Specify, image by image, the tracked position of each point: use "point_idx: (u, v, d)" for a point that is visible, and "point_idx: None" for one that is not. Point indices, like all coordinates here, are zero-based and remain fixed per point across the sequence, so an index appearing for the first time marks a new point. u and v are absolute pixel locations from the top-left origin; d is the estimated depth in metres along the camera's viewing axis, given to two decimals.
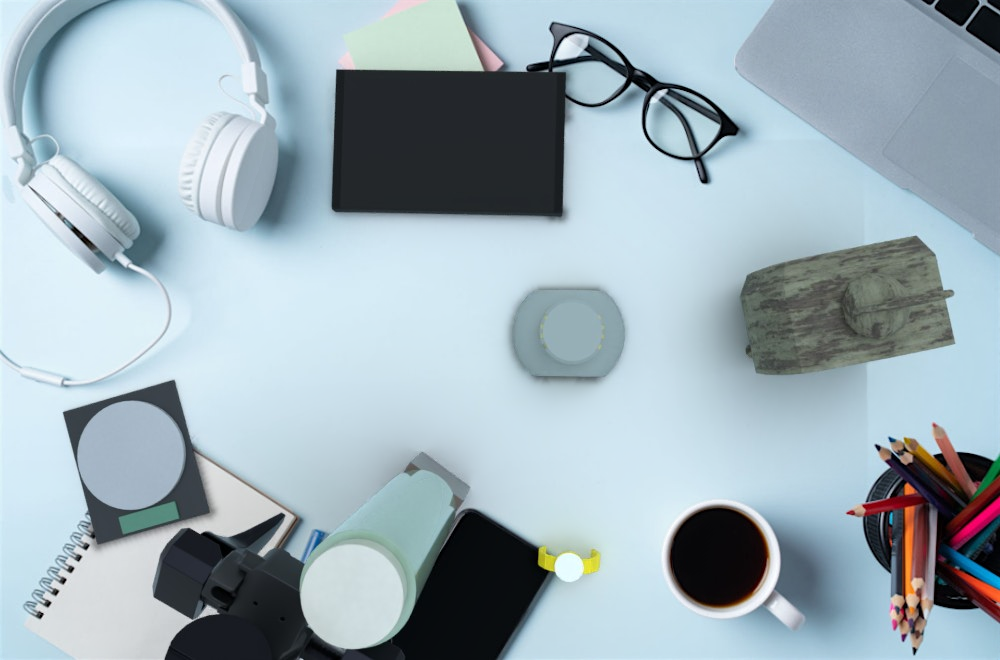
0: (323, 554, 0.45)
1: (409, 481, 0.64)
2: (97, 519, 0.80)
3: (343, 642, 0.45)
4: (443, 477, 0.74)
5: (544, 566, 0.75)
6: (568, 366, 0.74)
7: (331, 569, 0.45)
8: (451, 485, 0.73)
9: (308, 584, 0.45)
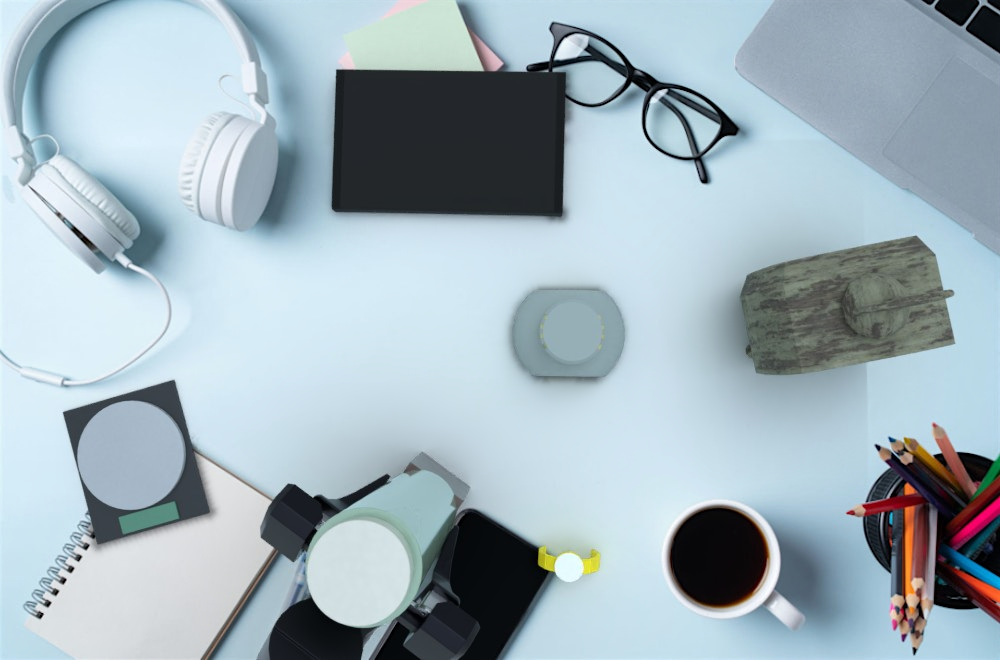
0: (330, 530, 0.45)
1: (411, 477, 0.64)
2: (97, 519, 0.80)
3: (349, 619, 0.45)
4: (443, 477, 0.74)
5: (544, 566, 0.75)
6: (568, 366, 0.74)
7: (338, 545, 0.45)
8: (451, 485, 0.73)
9: (314, 561, 0.45)
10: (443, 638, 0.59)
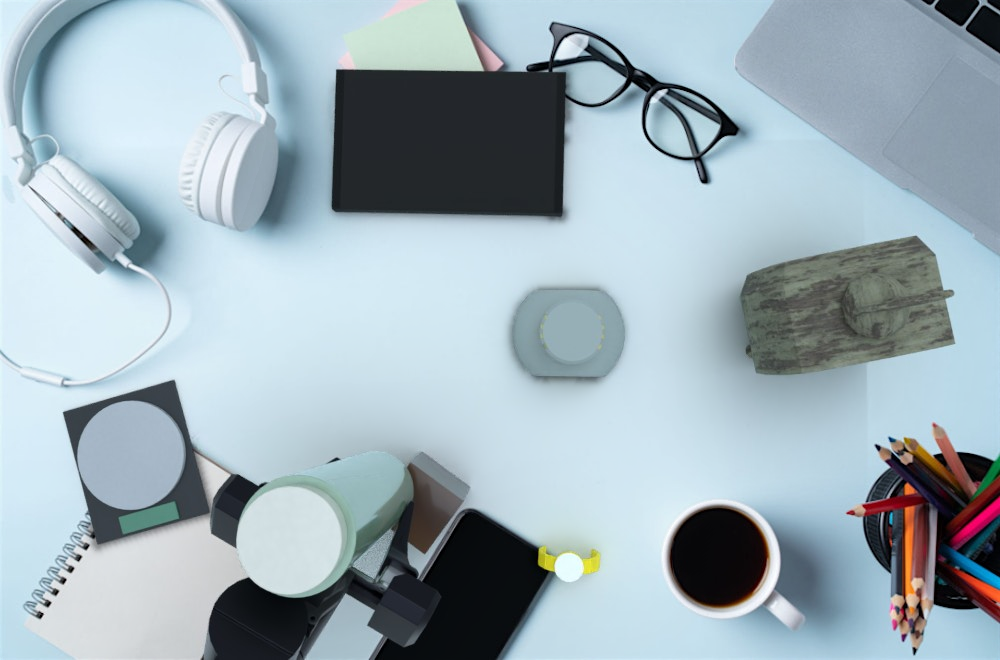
0: (255, 500, 0.44)
1: None
2: (97, 519, 0.80)
3: (284, 588, 0.44)
4: (443, 477, 0.74)
5: (544, 566, 0.75)
6: (568, 366, 0.74)
7: (265, 515, 0.44)
8: (451, 485, 0.73)
9: (243, 533, 0.44)
10: (403, 610, 0.58)
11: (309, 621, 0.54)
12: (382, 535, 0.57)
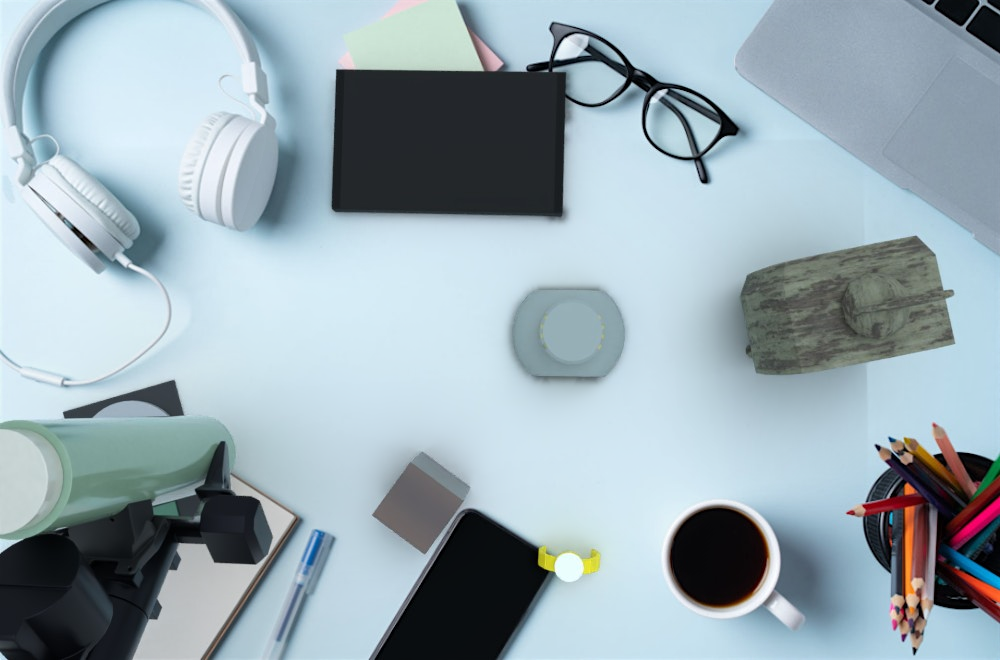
0: None
1: None
2: None
3: (12, 525, 0.44)
4: (443, 477, 0.74)
5: (544, 566, 0.75)
6: (568, 366, 0.74)
7: None
8: (451, 485, 0.73)
9: None
10: (224, 527, 0.58)
11: (127, 572, 0.55)
12: (168, 469, 0.58)
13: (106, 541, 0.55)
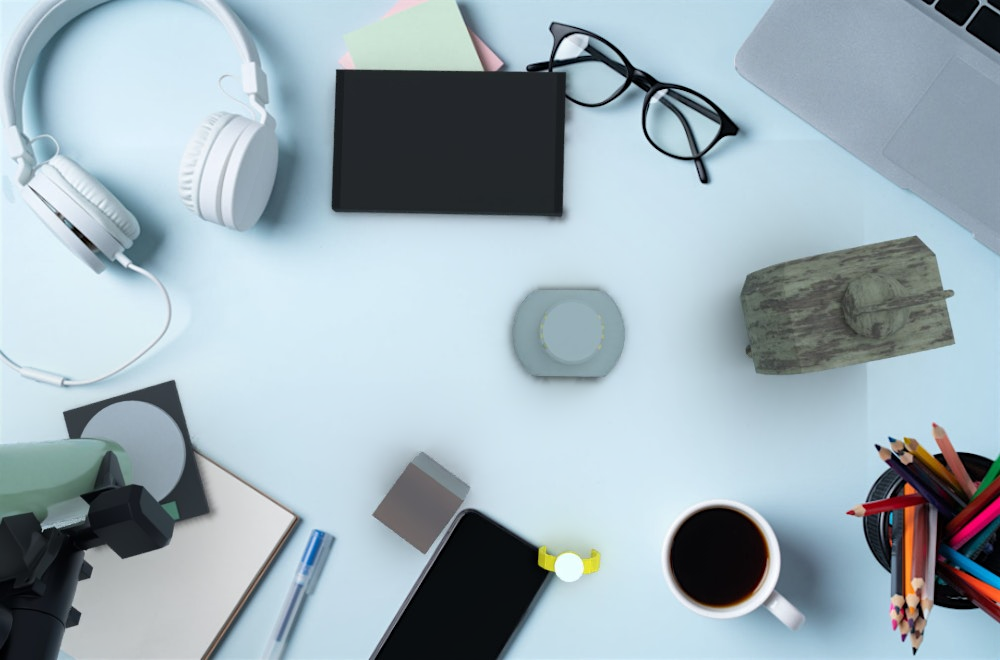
0: None
1: None
2: None
3: None
4: (443, 477, 0.74)
5: (544, 566, 0.75)
6: (568, 366, 0.74)
7: None
8: (451, 485, 0.73)
9: None
10: (113, 518, 0.60)
11: (25, 583, 0.57)
12: (42, 480, 0.60)
13: None
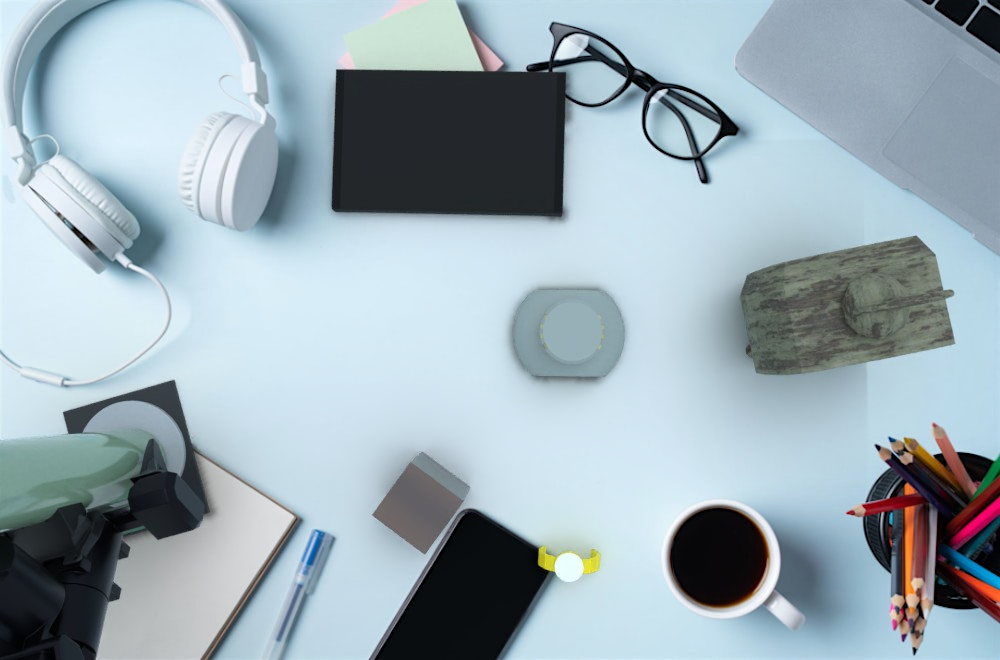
0: None
1: None
2: None
3: None
4: (443, 477, 0.74)
5: (544, 566, 0.75)
6: (568, 366, 0.74)
7: None
8: (451, 485, 0.73)
9: None
10: (150, 502, 0.66)
11: (73, 561, 0.63)
12: (95, 467, 0.66)
13: (48, 541, 0.63)
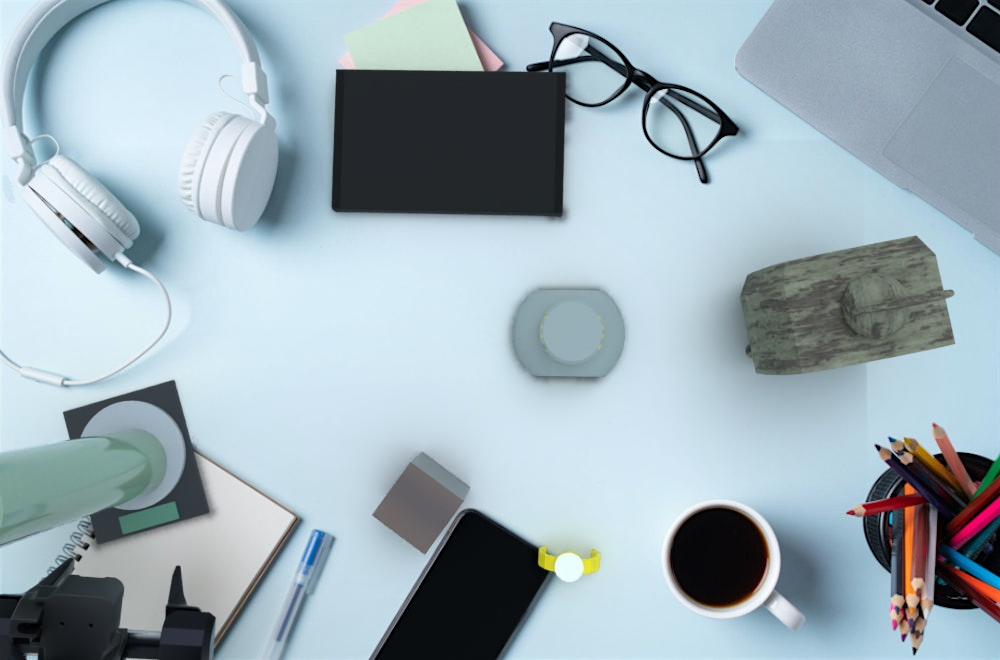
0: None
1: None
2: (97, 519, 0.80)
3: None
4: (443, 477, 0.74)
5: (544, 566, 0.75)
6: (568, 366, 0.74)
7: None
8: (451, 485, 0.73)
9: None
10: (184, 640, 0.64)
11: None
12: (97, 474, 0.66)
13: (77, 647, 0.59)
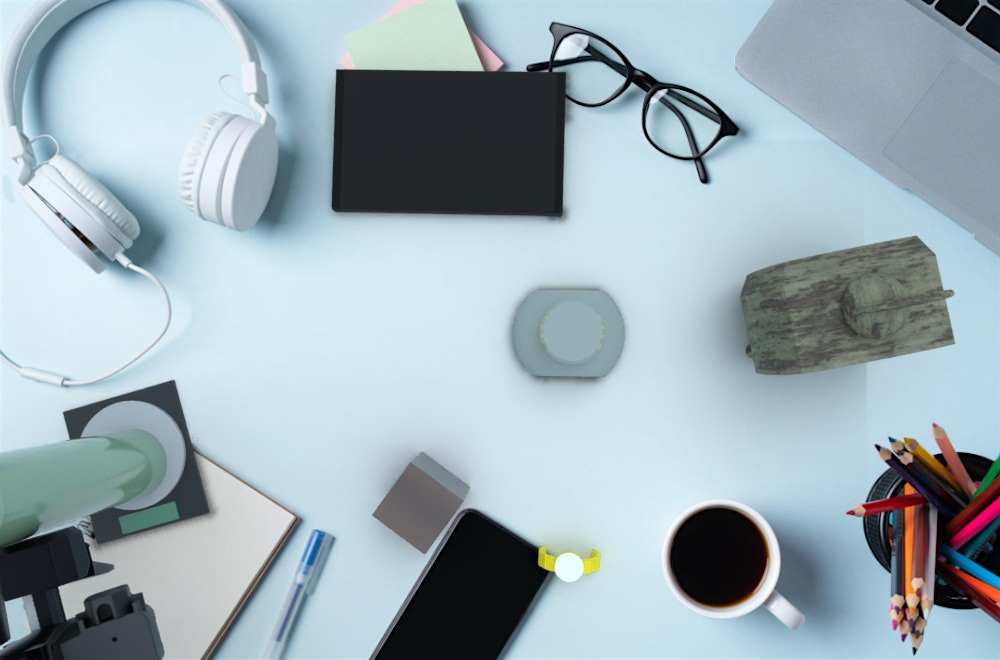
0: None
1: None
2: (97, 519, 0.80)
3: None
4: (443, 477, 0.74)
5: (544, 566, 0.75)
6: (568, 366, 0.74)
7: None
8: (451, 485, 0.73)
9: None
10: None
11: None
12: (97, 474, 0.66)
13: None
